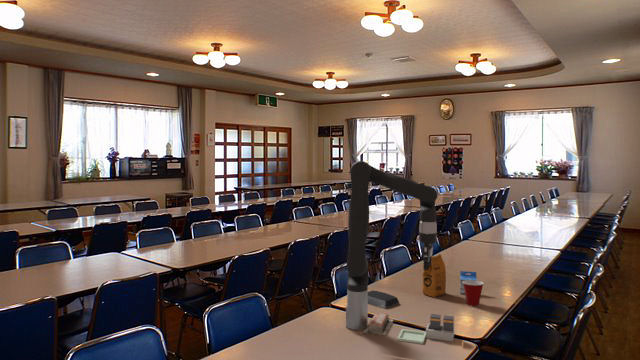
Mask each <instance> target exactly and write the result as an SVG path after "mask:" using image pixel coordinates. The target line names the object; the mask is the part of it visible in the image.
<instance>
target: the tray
mask: <svg viewBox="0 0 640 360" xmlns="http://www.w3.org/2000/svg"><path fill="white" fill-rule="evenodd" d="M425 339H426V331H422V330H421V331H419V330H414V329H413V330H412V329H406V328H402V329H401V330H400V332H399V334H398V336H397V338H396V341H398V342H399V341H400V342H406V343H413V344H421V345H424V343H425Z"/></svg>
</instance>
